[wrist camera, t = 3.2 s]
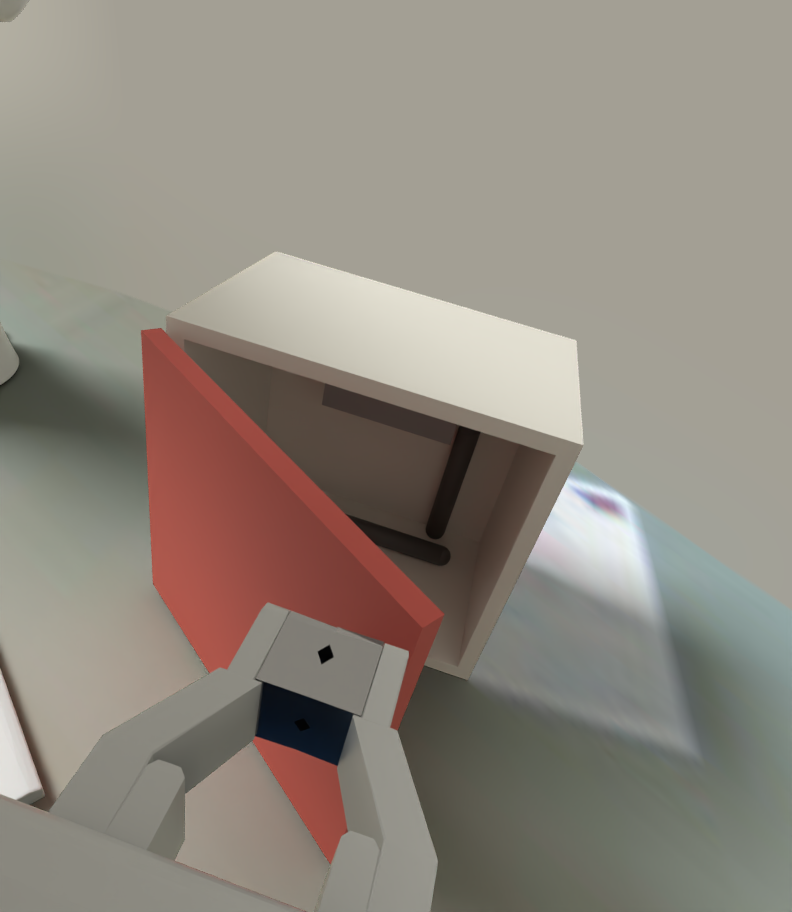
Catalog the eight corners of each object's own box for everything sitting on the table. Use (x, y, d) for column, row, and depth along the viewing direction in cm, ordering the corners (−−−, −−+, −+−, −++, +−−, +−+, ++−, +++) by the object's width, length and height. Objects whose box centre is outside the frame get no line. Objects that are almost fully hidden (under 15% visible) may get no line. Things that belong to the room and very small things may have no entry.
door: (129, 593, 39) (107, 334, 28) (167, 578, 40) (160, 328, 29) (305, 890, 28) (383, 652, 17) (347, 852, 29) (444, 614, 18)
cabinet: (171, 577, 41) (166, 315, 30) (255, 470, 52) (275, 251, 41) (467, 680, 39) (583, 445, 28) (488, 546, 51) (576, 340, 39)
